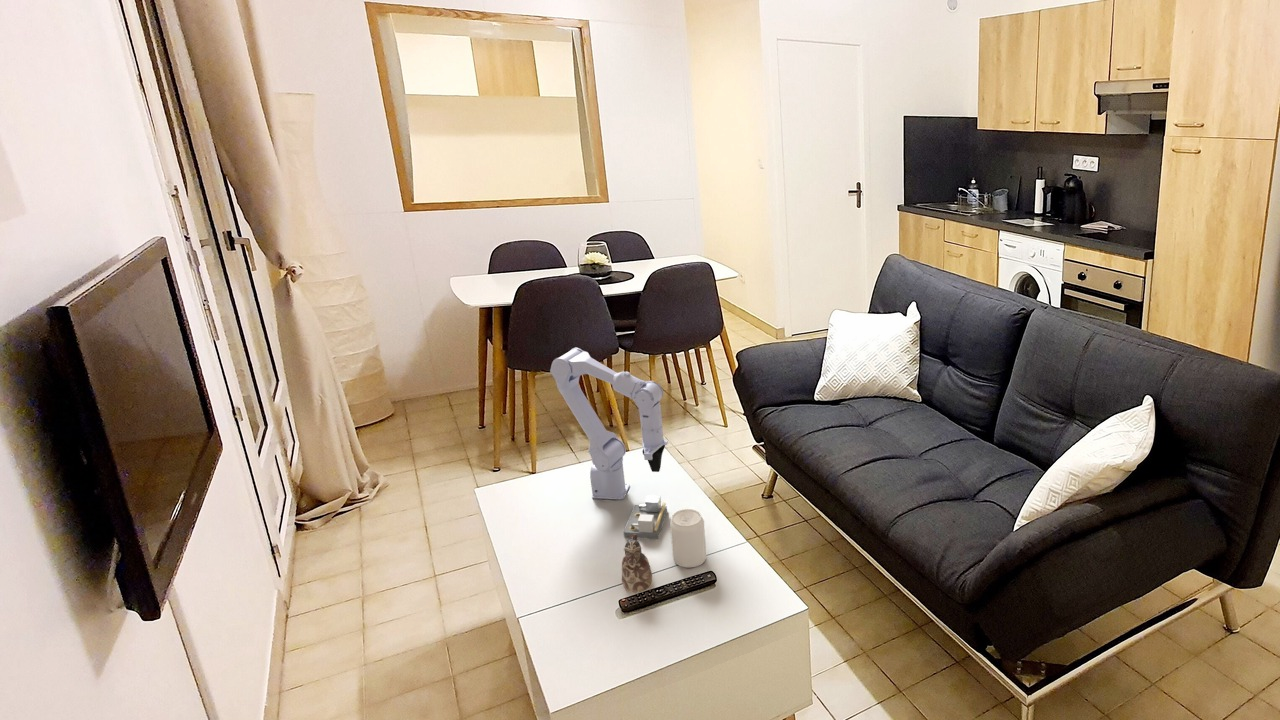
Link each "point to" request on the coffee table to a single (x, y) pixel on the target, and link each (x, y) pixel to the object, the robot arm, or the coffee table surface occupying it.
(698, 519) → the beverage can
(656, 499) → the sliding leg
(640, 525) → the board
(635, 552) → the figurine
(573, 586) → the coffee table surface
